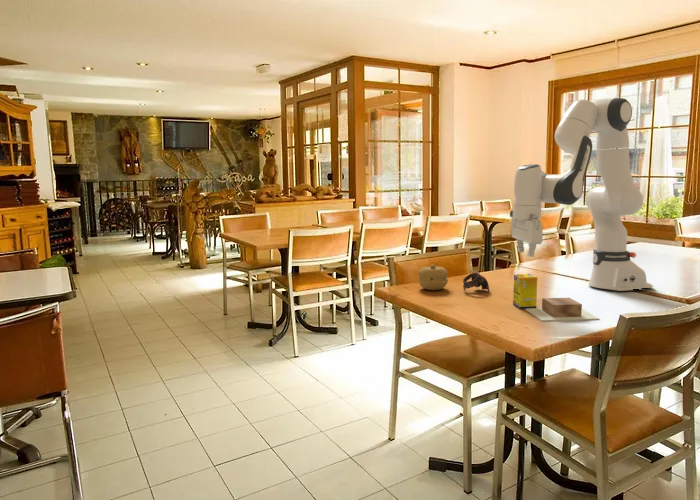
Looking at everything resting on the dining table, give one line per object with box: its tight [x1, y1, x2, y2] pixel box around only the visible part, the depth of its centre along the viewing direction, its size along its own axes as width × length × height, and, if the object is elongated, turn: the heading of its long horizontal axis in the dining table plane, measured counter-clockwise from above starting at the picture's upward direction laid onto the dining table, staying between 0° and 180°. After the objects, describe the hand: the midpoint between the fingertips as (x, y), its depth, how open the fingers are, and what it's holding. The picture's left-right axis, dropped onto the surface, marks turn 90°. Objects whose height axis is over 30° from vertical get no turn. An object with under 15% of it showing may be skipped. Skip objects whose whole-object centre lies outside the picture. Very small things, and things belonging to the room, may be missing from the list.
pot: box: [417, 264, 449, 291], centre depth 210 cm, size 12×12×10 cm
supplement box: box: [512, 273, 538, 310], centre depth 179 cm, size 6×6×11 cm
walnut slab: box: [541, 297, 583, 317], centre depth 169 cm, size 9×9×4 cm
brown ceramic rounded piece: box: [462, 271, 491, 293], centre depth 205 cm, size 12×9×8 cm
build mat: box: [525, 307, 600, 322], centre depth 169 cm, size 18×14×1 cm
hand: (525, 254), depth 178 cm, fingers open, 8 cm apart
